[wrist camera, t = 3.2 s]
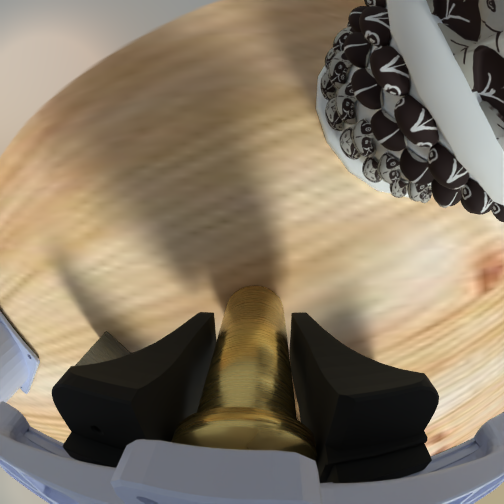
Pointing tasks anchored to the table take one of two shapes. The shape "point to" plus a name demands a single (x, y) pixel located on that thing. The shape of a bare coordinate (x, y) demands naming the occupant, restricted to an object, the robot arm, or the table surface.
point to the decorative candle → (420, 100)
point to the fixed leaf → (103, 351)
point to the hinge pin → (249, 383)
